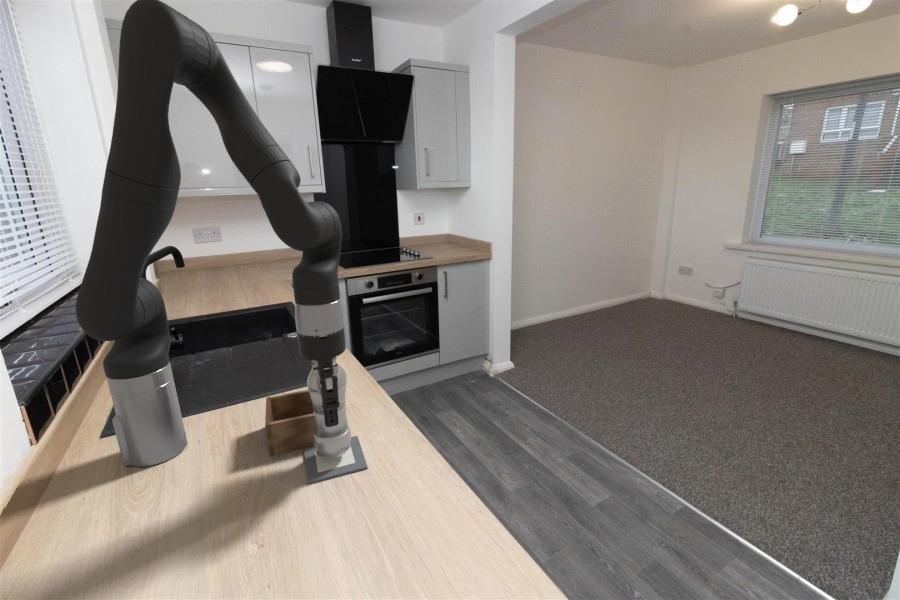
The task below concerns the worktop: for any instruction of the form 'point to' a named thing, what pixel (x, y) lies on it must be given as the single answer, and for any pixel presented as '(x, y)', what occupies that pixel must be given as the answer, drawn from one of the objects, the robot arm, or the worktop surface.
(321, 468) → the mat
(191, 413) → the worktop surface
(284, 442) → the crate
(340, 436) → the plastic bottle
